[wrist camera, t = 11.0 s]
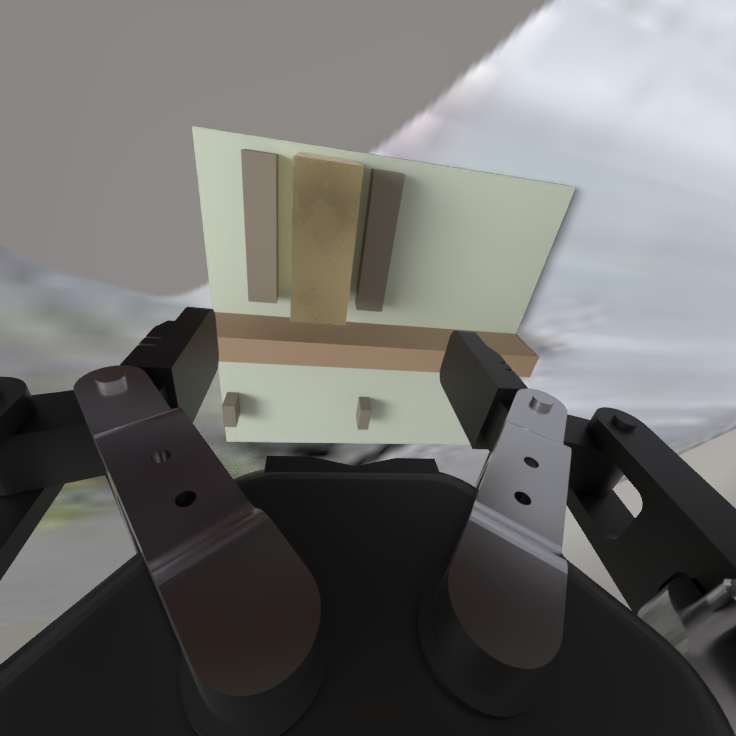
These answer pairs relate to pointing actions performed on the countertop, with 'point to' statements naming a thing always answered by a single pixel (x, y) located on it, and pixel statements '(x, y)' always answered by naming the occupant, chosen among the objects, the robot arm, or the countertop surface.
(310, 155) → the bar
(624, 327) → the countertop surface
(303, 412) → the door board
